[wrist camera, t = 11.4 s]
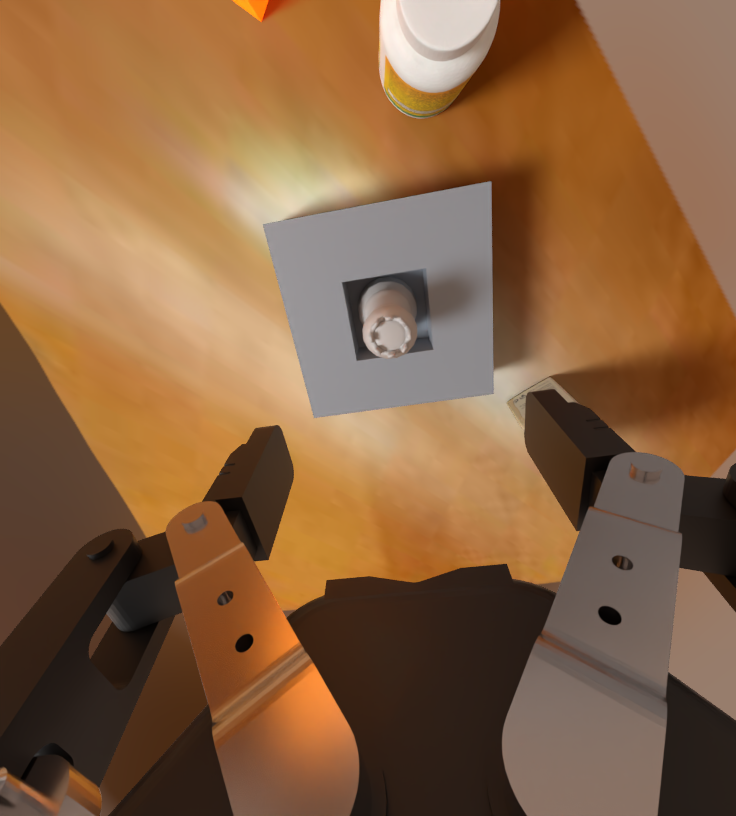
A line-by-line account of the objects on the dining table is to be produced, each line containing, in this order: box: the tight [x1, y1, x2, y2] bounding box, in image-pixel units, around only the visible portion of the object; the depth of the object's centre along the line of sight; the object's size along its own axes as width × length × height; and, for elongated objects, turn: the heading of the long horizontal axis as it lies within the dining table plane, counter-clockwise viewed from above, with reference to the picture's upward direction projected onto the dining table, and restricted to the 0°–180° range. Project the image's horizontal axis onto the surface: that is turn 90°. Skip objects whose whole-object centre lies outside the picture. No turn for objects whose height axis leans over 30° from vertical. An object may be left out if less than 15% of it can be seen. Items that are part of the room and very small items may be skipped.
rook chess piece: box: [358, 277, 417, 359], centre depth 25 cm, size 4×4×8 cm
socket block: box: [263, 181, 494, 418], centre depth 28 cm, size 14×14×4 cm
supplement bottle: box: [379, 0, 500, 118], centre depth 18 cm, size 5×5×10 cm
